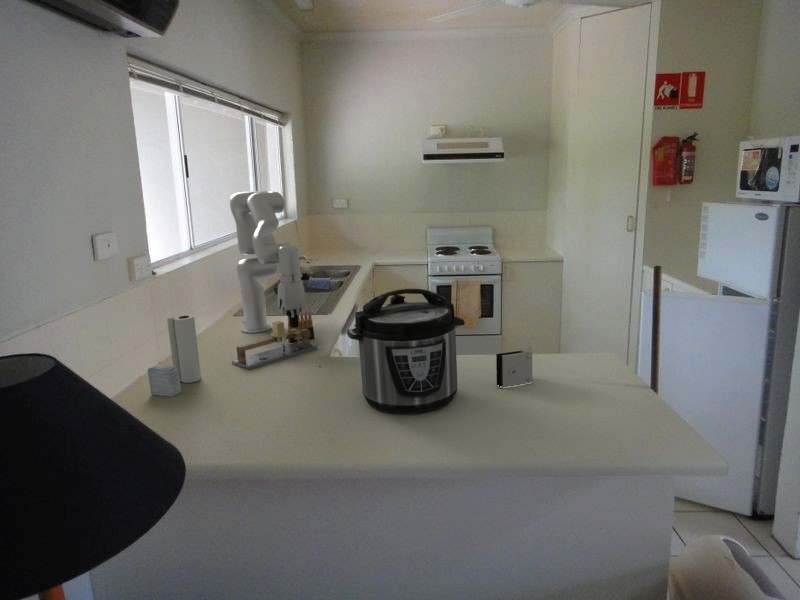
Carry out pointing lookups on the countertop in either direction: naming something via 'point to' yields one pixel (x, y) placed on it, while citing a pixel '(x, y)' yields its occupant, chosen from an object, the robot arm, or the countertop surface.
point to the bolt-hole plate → (274, 355)
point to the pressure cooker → (407, 352)
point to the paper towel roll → (184, 347)
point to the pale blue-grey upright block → (164, 380)
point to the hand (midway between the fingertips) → (294, 326)
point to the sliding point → (279, 333)
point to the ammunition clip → (302, 326)
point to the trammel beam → (293, 333)
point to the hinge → (514, 367)
